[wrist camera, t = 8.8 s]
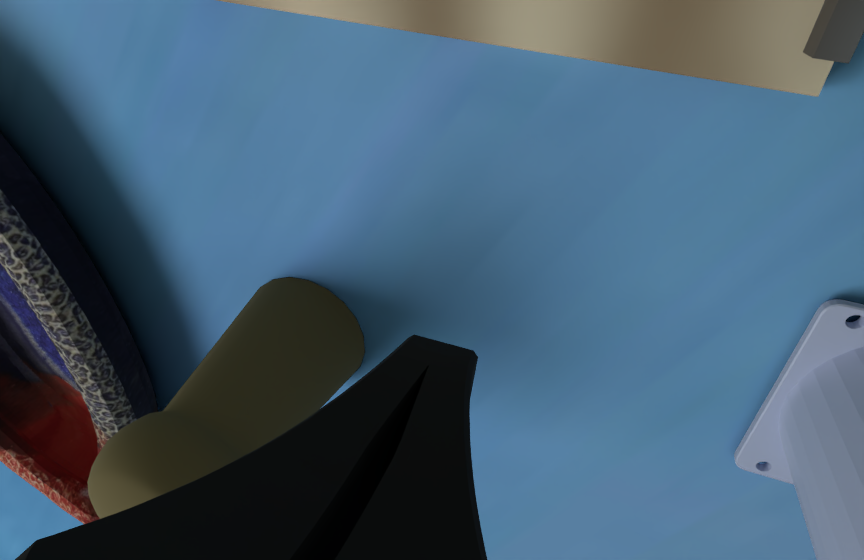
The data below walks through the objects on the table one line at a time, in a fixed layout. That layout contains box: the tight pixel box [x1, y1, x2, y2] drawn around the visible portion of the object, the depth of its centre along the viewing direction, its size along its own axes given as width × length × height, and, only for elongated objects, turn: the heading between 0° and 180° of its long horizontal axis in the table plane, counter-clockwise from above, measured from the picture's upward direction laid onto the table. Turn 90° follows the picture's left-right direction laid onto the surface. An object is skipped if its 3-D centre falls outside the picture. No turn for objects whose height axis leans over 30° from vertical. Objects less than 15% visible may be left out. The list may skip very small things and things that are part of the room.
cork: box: [87, 277, 365, 519], centre depth 22 cm, size 6×6×11 cm
